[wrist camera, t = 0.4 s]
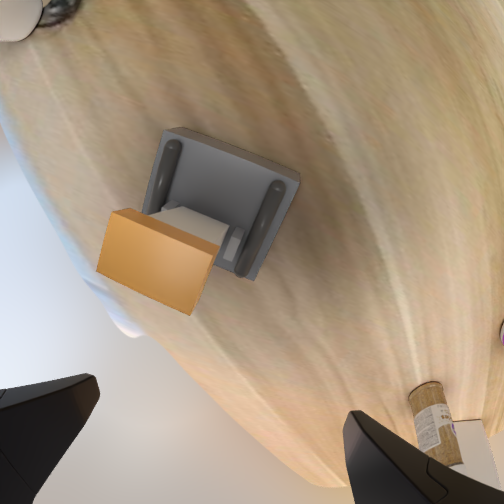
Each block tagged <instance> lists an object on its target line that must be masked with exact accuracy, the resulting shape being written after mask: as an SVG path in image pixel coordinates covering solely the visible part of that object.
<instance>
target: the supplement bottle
mask: <svg viewBox="0 0 504 504" xmlns="http://www.w3.org/2000/svg"><path fill="white" fill-rule="evenodd" d="M500 336H501V341H502V343H503V345H504V323H503V326H502V329H501V334H500Z"/></svg>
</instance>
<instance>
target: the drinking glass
mask: <svg viewBox="0 0 504 504" xmlns="http://www.w3.org/2000/svg"><path fill="white" fill-rule="evenodd" d="M42 8H43V3H42V0H0V41H20V40H22V39H24V38H26V37H27V36H28V35H29V34H30V33H31V32H32V31H33V29H34V28H35V26H36V25H37V23H38V21H39V19H40V16H41V13H42Z"/></svg>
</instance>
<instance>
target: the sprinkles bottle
mask: <svg viewBox="0 0 504 504" xmlns="http://www.w3.org/2000/svg"><path fill="white" fill-rule="evenodd" d="M409 403H410V405H411V407H412V412H413V416H414V424H415V429H416V434H417V439H418V444H419V450H420V451H422V452H424V453H425V454H427V455H428V456H429V457H432V458H434V459H435V460H437V461H439V462H440V463H442V464H444V465H446V466H447V467H449V468H451V469H453V470H455V471H457V472H459V473H461V474H463V475H465V476H468V475H467V470H466V466H465V465H464V462H463V461H462V457H461V453H460V449H459V444H458V441H457V435H456V432H455V428H454V424H453V421H452V417H451V414H450V410H449V407H448V405H447V402H446V399H445V396H444V393H443V387H442V385H441V384H439V383H437V382H431V383H427V384H424V385H422V386H420V387H419V388H417V389H416V390H415V391H413V392H412V393H411V395H410V396H409Z"/></svg>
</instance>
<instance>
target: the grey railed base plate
mask: <svg viewBox="0 0 504 504" xmlns="http://www.w3.org/2000/svg"><path fill="white" fill-rule="evenodd" d="M299 185H300V173H298V172H296V171H293V170H291V169H289V168H286V167H284V166H282V165H280V164H277V163H275V162H272V161H270V160H268V159H265V158H263V157H260V156H258V155H255V154H253V153H251V152H248V151H246V150H243V149H240V148H238V147H235V146H233V145H230V144H227V143H225V142H222V141H219V140H217V139H214V138H211V137H209V136H206V135H203V134H200V133H197V132H194V131H192V130H189V129H186V128H183V127H178V128H172V129H166V130H164V131H163V134H162V138H161V141H160V144H159V148H158V151H157V155H156V158H155V162H154V165H153V169H152V173H151V176H150V180H149V184H148V188H147V192H146V196H145V200H144V204H143V209H142V213H143V214H145V215H151V214H155V213H158V212H162V211H166V210H170V209H174V208H178V207H182V206H184V207H186V208H189V209H191V210H193V211H196V212H198V213H201V214H203V215H206V216H208V217H210V218H213V219H215V220H218V221H220V222H222V223H225V224H227V225H230V226H229V228H228V230H227V233H226V235H225V238H224V240H223V243H222V245H221V248H220V250H219V252H218V254H217V255H216V258H215V261H214V263H213V264H214V265H216V266H218V267H221V268H223V269H225V270H228V271H230V272H233V273H235V275H236V276H237V277H239V278H244V277H245V278H247V279H249V280H252V281H254V280H255V278H256V276H257V274H258V272H259V269H260V267H261V265H262V263H263V261H264V259H265V257H266V255H267V253H268V251H269V248H270V246H271V244H272V242H273V240H274V238H275V236H276V234H277V232H278V229H279V227H280V225H281V223H282V221H283V219H284V217H285V215H286V212H287V210H288V208H289V206H290V204H291V202H292V200H293V197H294V195H295V193H296V191H297V189H298V187H299Z"/></svg>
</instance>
